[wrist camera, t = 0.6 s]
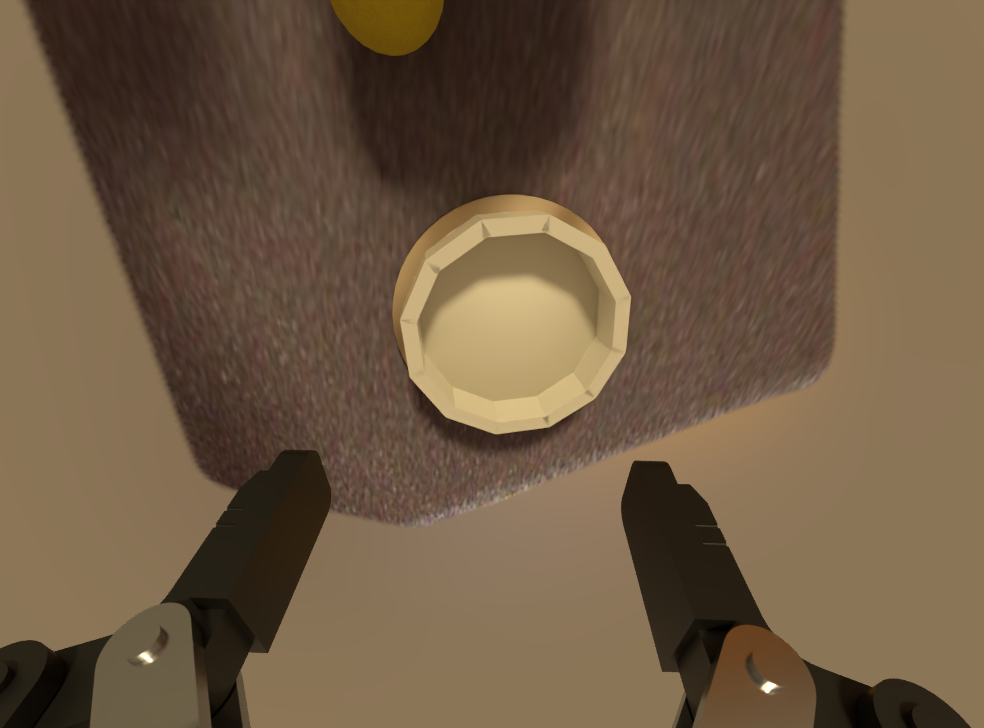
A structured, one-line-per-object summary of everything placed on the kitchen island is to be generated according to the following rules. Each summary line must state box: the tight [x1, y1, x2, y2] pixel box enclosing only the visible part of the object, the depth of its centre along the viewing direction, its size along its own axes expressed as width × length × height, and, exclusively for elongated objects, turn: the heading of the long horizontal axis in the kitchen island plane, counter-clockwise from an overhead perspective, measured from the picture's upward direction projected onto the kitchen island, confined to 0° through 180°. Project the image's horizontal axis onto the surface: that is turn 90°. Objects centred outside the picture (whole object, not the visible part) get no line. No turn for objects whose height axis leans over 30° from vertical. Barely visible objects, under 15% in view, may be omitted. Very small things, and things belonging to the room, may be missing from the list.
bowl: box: [400, 210, 631, 434], centre depth 28 cm, size 15×15×4 cm
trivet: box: [392, 194, 603, 366], centre depth 30 cm, size 17×17×1 cm
